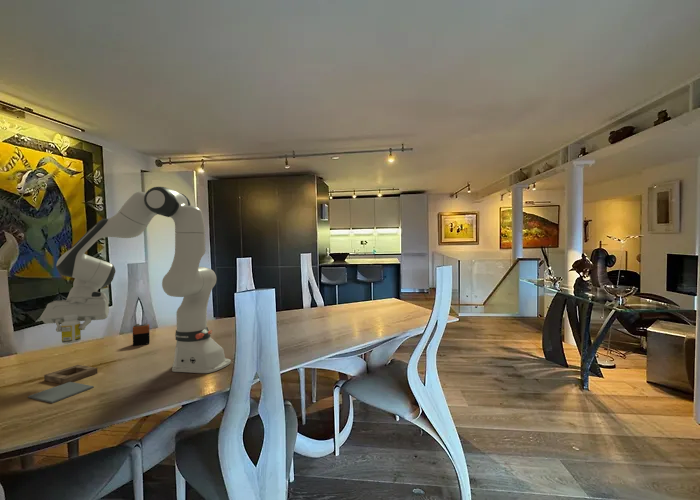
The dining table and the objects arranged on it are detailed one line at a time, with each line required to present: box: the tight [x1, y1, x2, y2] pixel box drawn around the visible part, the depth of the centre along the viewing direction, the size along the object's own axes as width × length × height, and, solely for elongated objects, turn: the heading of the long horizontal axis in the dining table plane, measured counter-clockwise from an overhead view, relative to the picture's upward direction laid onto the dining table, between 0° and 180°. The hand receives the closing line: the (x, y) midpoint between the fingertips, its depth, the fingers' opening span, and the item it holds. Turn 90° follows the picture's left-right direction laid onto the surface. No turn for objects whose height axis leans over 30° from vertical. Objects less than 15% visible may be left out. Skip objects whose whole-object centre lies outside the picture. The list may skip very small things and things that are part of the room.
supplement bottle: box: [60, 314, 82, 345], centre depth 124 cm, size 5×5×10 cm
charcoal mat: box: [27, 381, 94, 404], centre depth 111 cm, size 12×12×1 cm
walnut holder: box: [43, 364, 99, 385], centre depth 124 cm, size 11×11×2 cm
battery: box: [132, 322, 151, 347], centre depth 166 cm, size 4×7×10 cm, turn 119°
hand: (70, 330), depth 124 cm, fingers closed on supplement bottle, 5 cm apart
